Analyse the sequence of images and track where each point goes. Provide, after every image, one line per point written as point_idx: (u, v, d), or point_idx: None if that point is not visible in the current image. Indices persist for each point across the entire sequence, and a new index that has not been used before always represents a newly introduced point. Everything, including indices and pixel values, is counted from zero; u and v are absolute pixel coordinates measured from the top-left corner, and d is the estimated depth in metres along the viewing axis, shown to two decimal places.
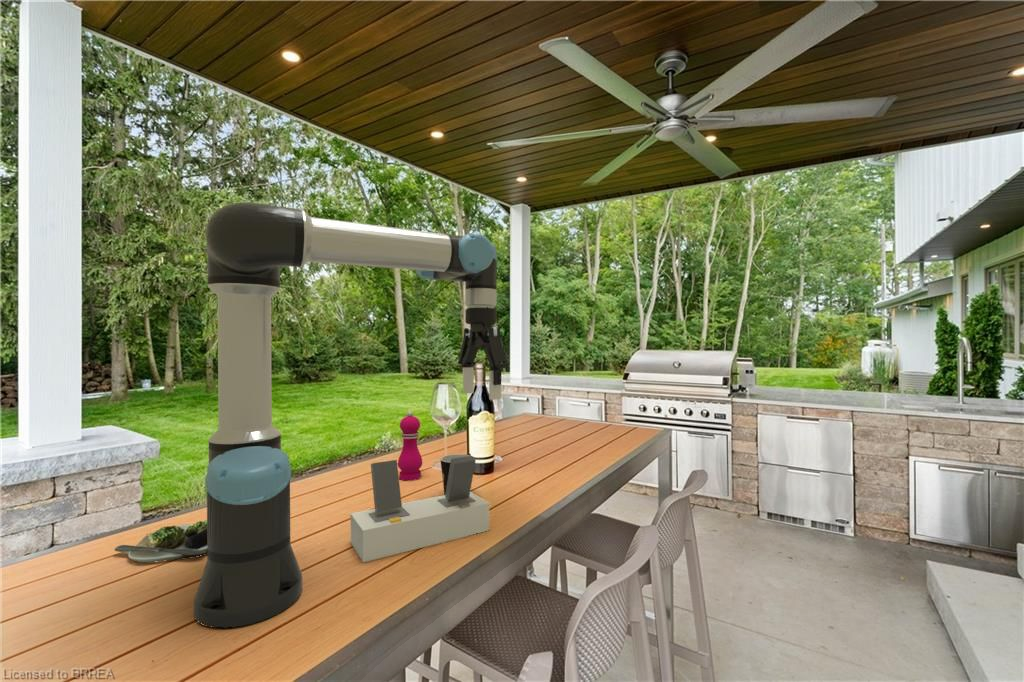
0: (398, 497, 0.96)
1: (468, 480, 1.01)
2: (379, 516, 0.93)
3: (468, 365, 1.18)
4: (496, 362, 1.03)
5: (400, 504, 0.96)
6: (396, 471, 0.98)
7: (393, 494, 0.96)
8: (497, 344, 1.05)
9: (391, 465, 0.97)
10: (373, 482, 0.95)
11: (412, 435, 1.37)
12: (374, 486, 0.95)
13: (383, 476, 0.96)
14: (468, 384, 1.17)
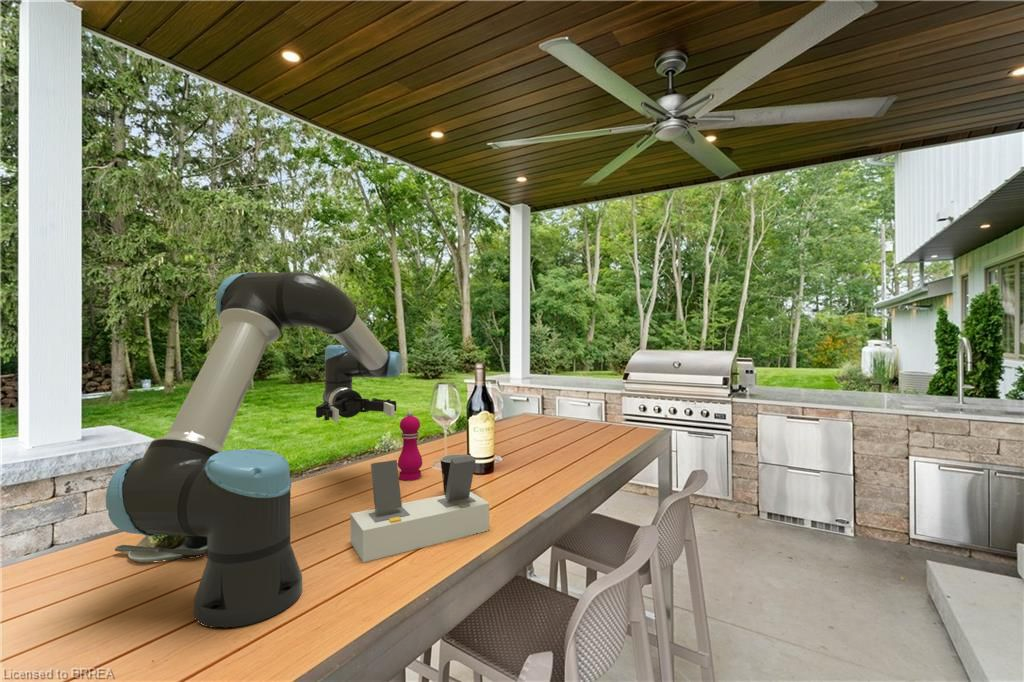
0: (398, 497, 0.96)
1: (468, 480, 1.01)
2: (379, 516, 0.93)
3: None
4: (392, 401, 1.22)
5: (400, 504, 0.96)
6: (396, 471, 0.98)
7: (393, 494, 0.96)
8: None
9: (391, 465, 0.97)
10: (373, 482, 0.95)
11: (412, 435, 1.37)
12: (374, 486, 0.95)
13: (383, 476, 0.96)
14: None
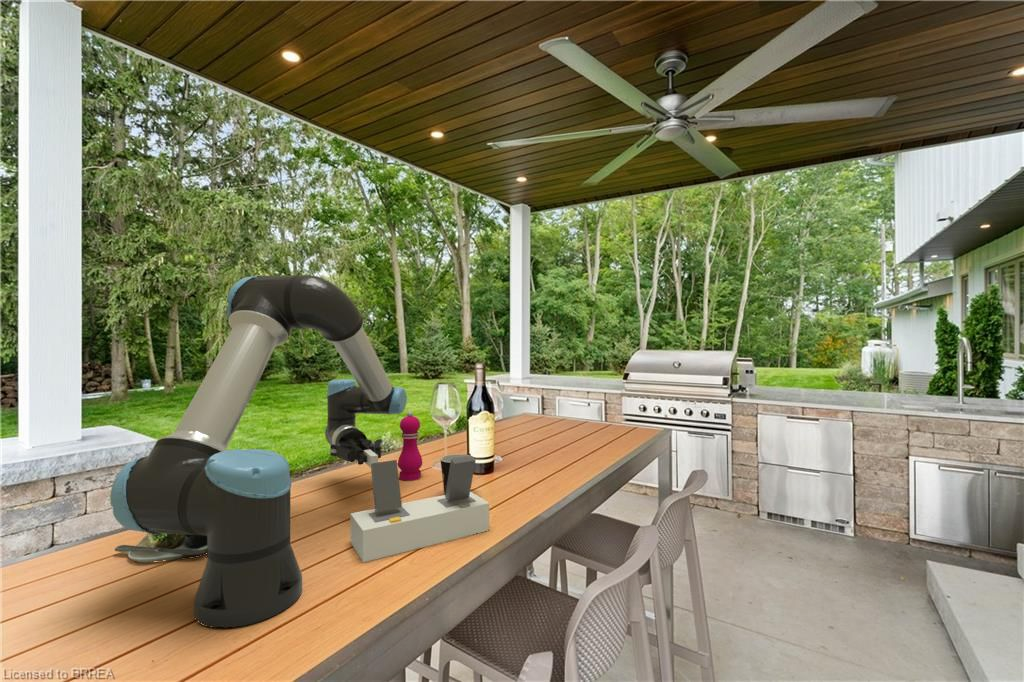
0: (398, 497, 0.96)
1: (468, 480, 1.01)
2: (379, 516, 0.93)
3: None
4: (379, 447, 1.13)
5: (400, 504, 0.96)
6: (396, 471, 0.98)
7: (393, 494, 0.96)
8: None
9: (391, 465, 0.97)
10: (373, 482, 0.95)
11: (412, 435, 1.37)
12: (374, 486, 0.95)
13: (383, 476, 0.96)
14: None
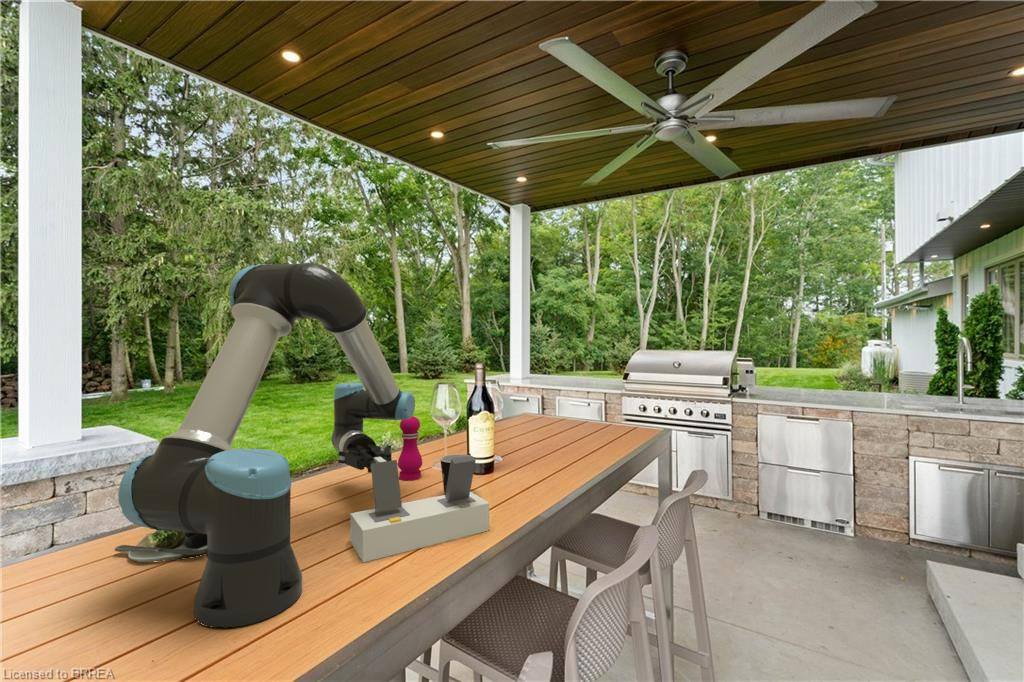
0: (398, 497, 0.96)
1: (468, 480, 1.01)
2: (379, 516, 0.93)
3: None
4: (389, 453, 1.08)
5: (400, 504, 0.96)
6: (396, 471, 0.98)
7: (393, 494, 0.96)
8: None
9: (391, 465, 0.97)
10: (373, 482, 0.95)
11: (412, 435, 1.37)
12: (374, 486, 0.95)
13: (383, 476, 0.96)
14: None
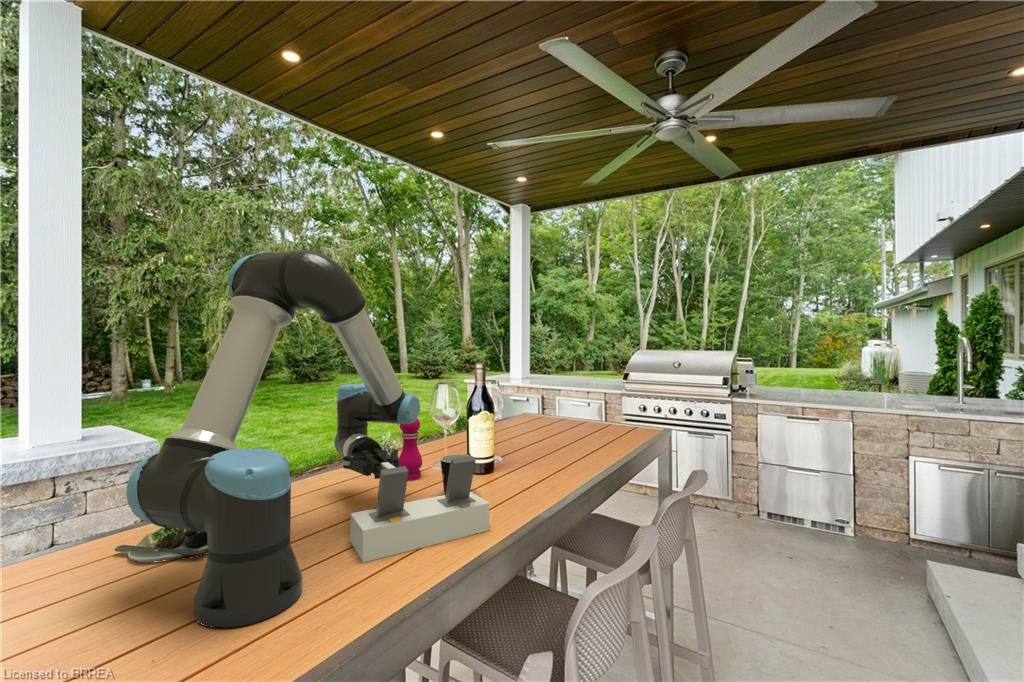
0: (401, 503, 0.94)
1: (468, 480, 1.01)
2: (379, 516, 0.93)
3: None
4: (396, 458, 1.03)
5: (402, 509, 0.95)
6: (405, 481, 0.93)
7: (397, 501, 0.93)
8: None
9: (401, 476, 0.92)
10: (380, 488, 0.91)
11: (412, 435, 1.37)
12: (380, 493, 0.91)
13: (391, 486, 0.91)
14: None
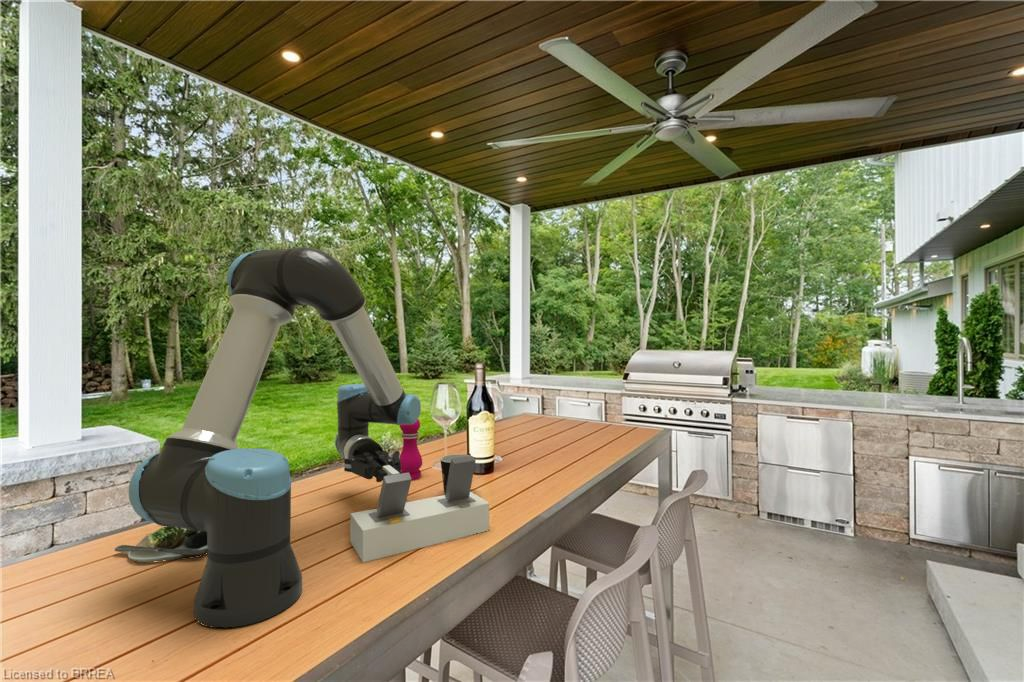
0: (402, 506, 0.94)
1: (468, 480, 1.01)
2: None
3: None
4: (398, 461, 1.02)
5: (402, 510, 0.95)
6: (408, 488, 0.92)
7: (398, 504, 0.93)
8: None
9: (404, 483, 0.90)
10: (381, 493, 0.90)
11: (412, 435, 1.37)
12: (381, 498, 0.90)
13: (393, 492, 0.90)
14: None
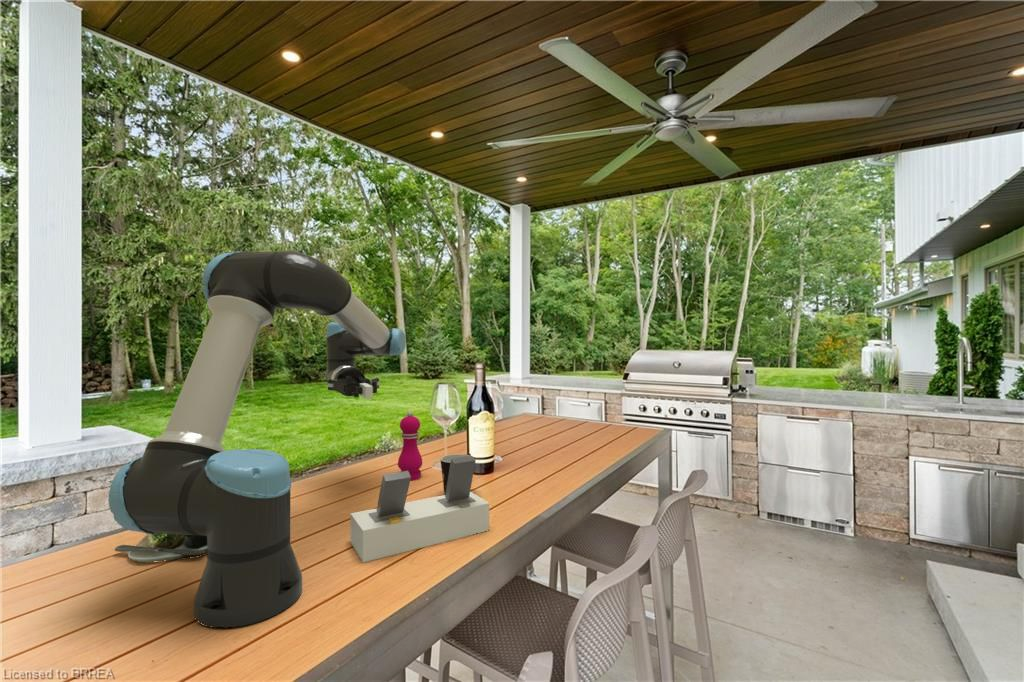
0: (402, 505, 0.94)
1: (468, 480, 1.01)
2: None
3: None
4: (375, 382, 1.13)
5: (402, 510, 0.95)
6: (407, 486, 0.92)
7: (398, 503, 0.93)
8: None
9: (403, 481, 0.91)
10: (381, 492, 0.91)
11: (412, 435, 1.37)
12: (381, 496, 0.91)
13: (392, 491, 0.91)
14: None
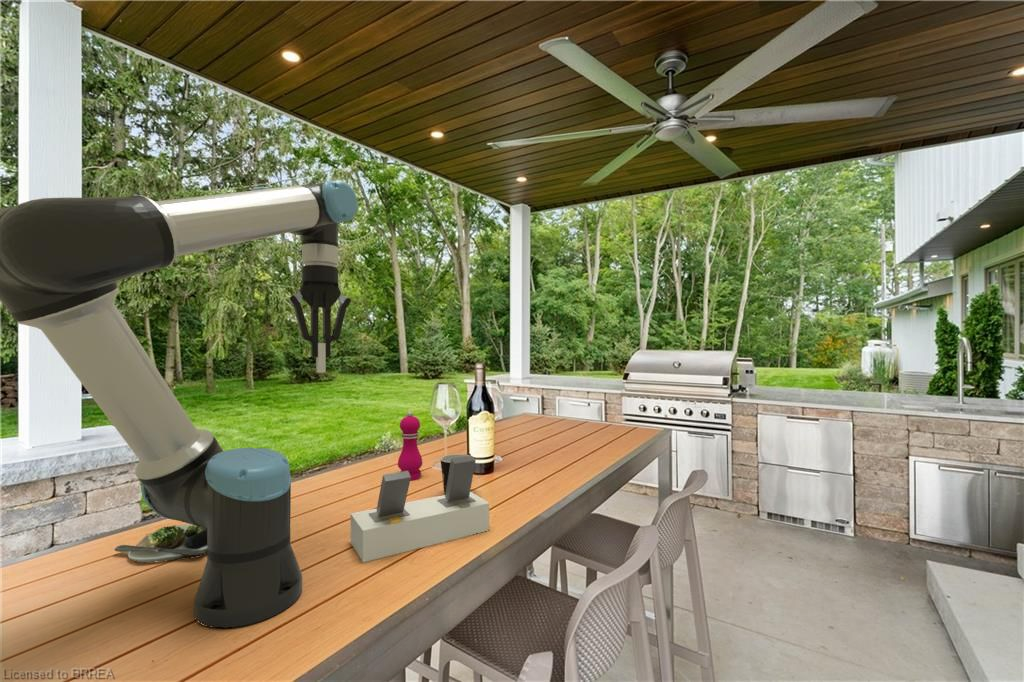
0: (402, 505, 0.94)
1: (468, 480, 1.01)
2: None
3: None
4: (338, 334, 1.04)
5: (402, 510, 0.95)
6: (407, 486, 0.92)
7: (398, 503, 0.93)
8: None
9: (403, 481, 0.91)
10: (381, 492, 0.91)
11: (412, 435, 1.37)
12: (381, 496, 0.91)
13: (392, 491, 0.91)
14: None
